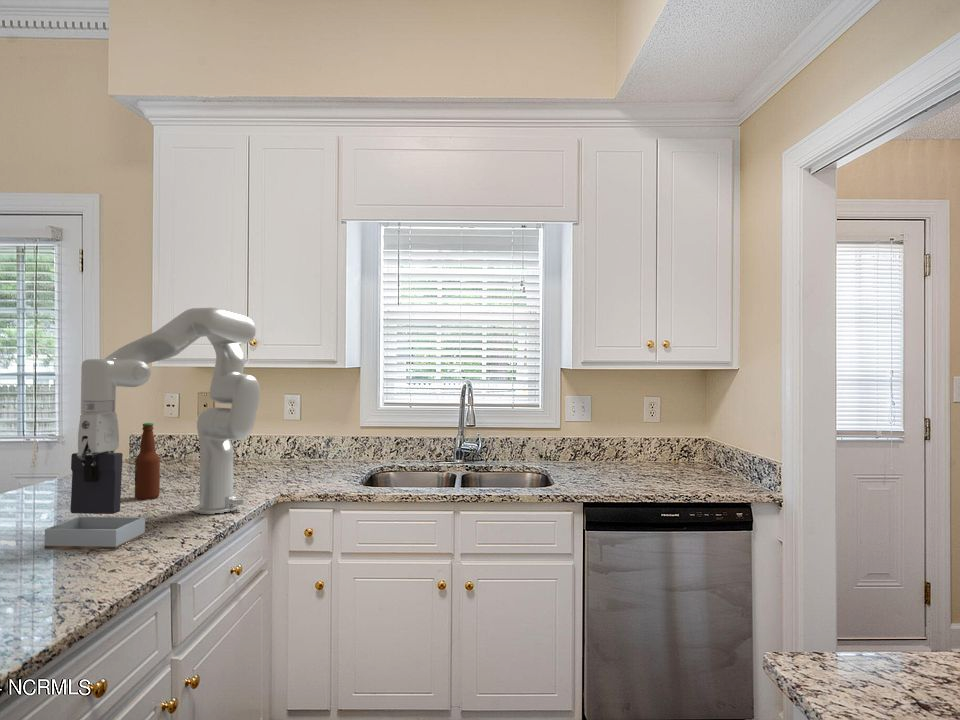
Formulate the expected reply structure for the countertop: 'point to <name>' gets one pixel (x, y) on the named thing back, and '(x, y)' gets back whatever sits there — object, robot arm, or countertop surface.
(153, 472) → the bottle
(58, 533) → the grey tray
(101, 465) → the tall charcoal block
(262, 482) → the countertop surface
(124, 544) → the pen board
